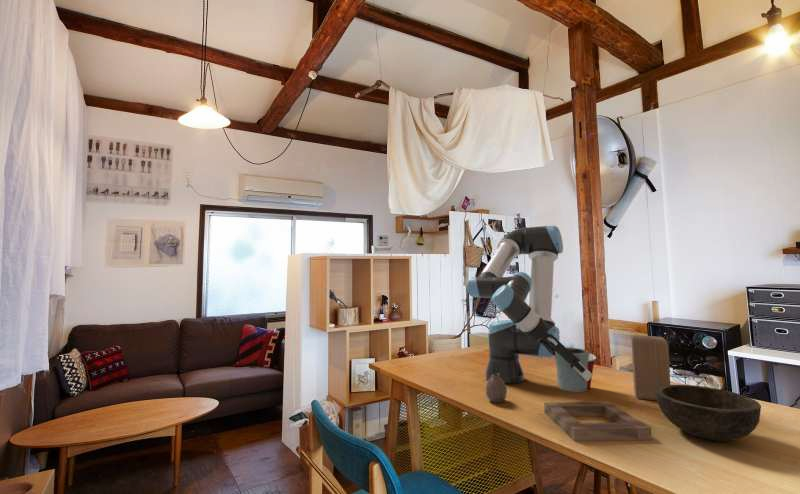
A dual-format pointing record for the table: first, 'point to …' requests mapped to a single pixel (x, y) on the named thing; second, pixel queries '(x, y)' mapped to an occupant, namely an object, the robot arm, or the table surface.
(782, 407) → the table surface
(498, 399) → the vase
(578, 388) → the grey-green cup
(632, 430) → the well board
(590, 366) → the plastic cup
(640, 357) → the wooden block
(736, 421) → the bowl
